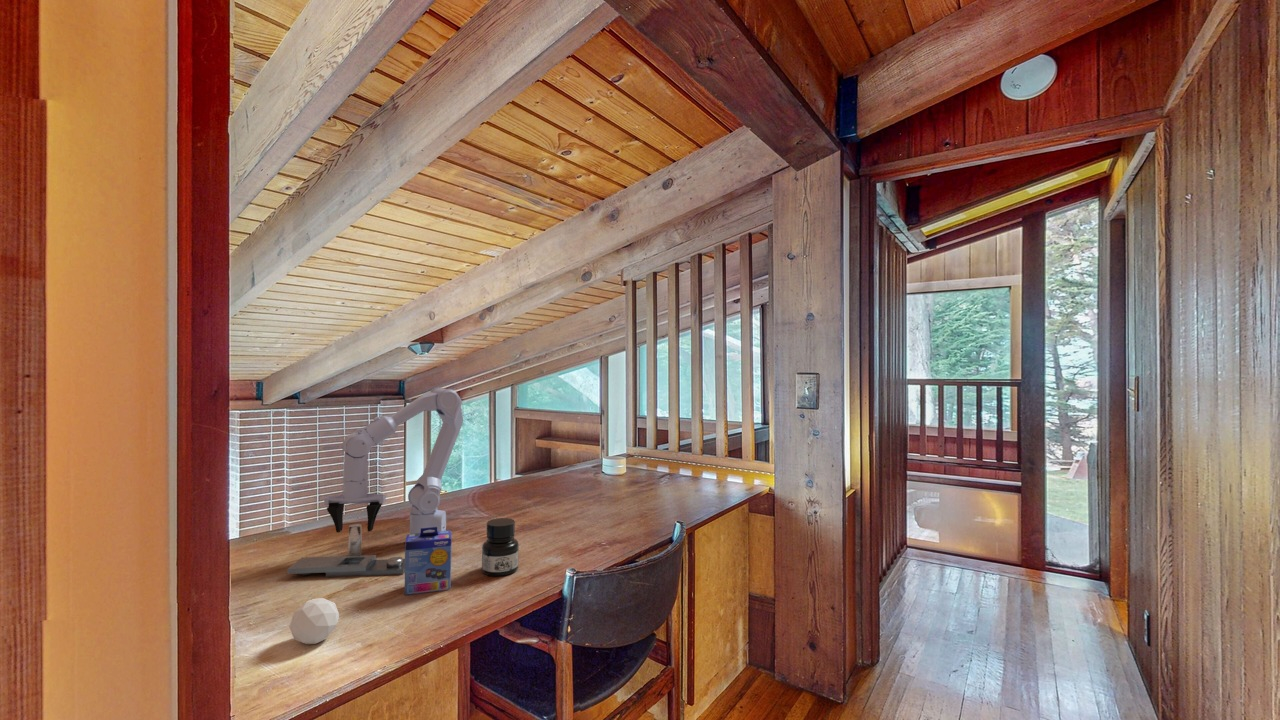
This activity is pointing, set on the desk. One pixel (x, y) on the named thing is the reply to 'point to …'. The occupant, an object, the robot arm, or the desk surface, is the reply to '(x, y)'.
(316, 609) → the ball
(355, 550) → the steel pin
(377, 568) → the end link lower
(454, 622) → the desk surface
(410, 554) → the ink cartridge box
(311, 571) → the end link upper
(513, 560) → the ink bottle
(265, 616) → the desk surface
